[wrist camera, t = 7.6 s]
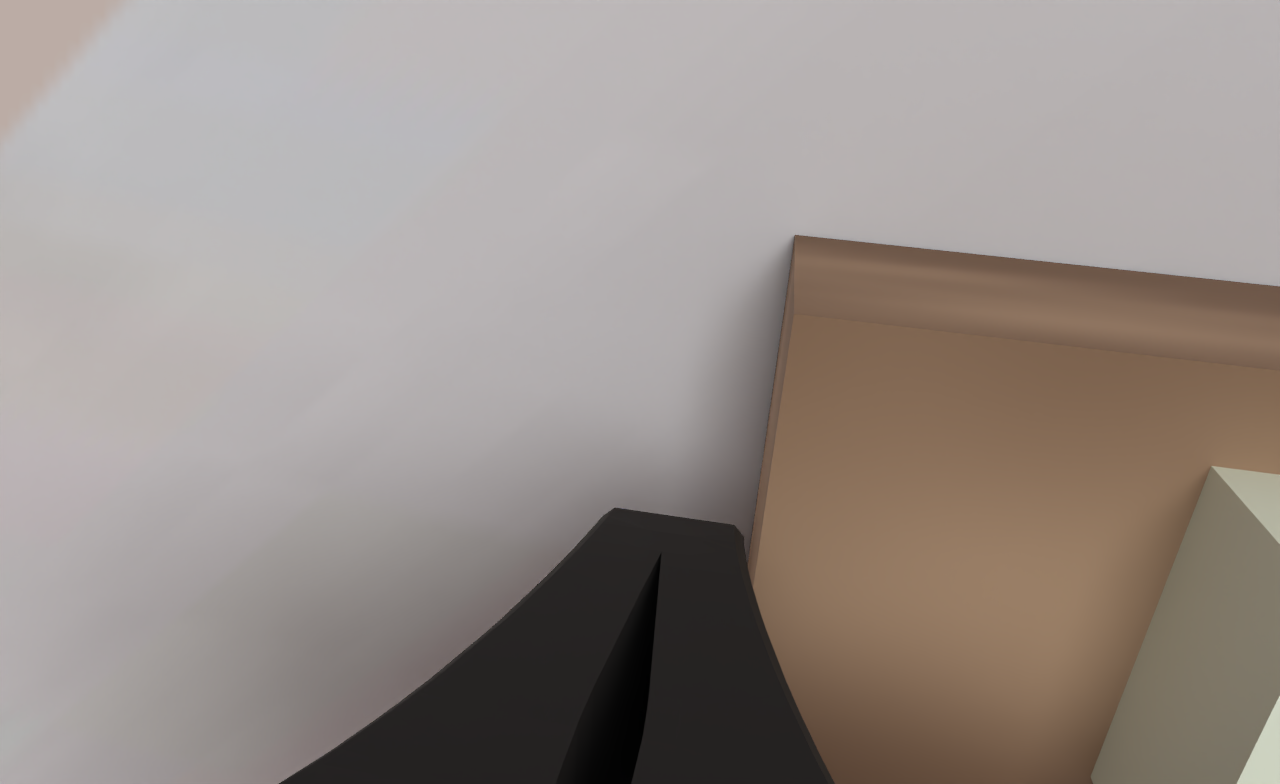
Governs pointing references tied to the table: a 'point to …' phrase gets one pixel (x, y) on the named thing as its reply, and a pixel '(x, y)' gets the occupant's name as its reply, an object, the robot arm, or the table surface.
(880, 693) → the walnut board
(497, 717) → the robot arm
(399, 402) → the table surface
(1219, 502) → the sage tile
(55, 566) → the table surface
